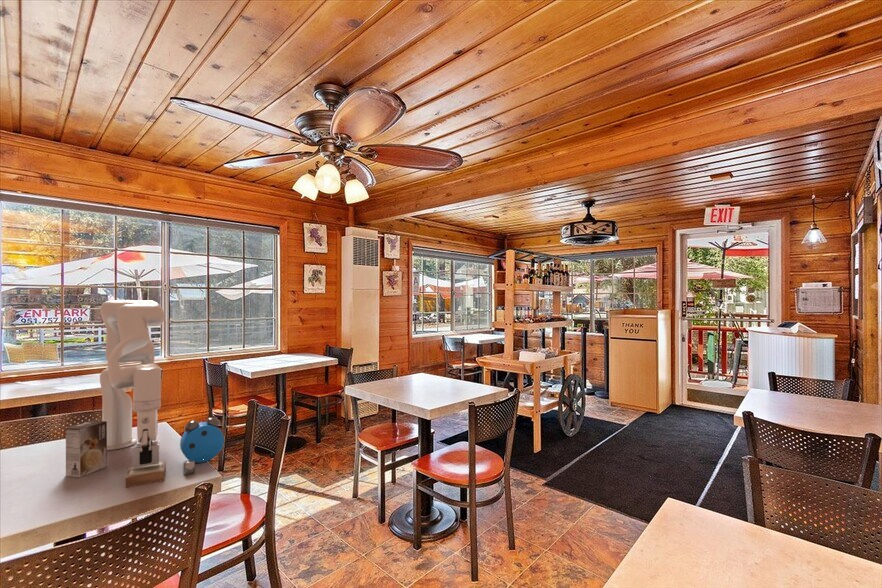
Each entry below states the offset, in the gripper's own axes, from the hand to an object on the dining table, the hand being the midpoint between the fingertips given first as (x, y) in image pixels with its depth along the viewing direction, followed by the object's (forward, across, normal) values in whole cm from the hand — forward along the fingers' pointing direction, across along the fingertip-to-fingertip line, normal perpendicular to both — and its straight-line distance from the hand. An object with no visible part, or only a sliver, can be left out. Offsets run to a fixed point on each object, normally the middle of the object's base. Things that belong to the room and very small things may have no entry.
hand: (146, 460), depth 137 cm
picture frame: (+6, 0, 0) cm, 6 cm away
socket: (+6, -3, -12) cm, 14 cm away
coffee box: (+6, +17, +18) cm, 26 cm away
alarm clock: (+6, +8, -16) cm, 19 cm away
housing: (+1, 0, 0) cm, 1 cm away
